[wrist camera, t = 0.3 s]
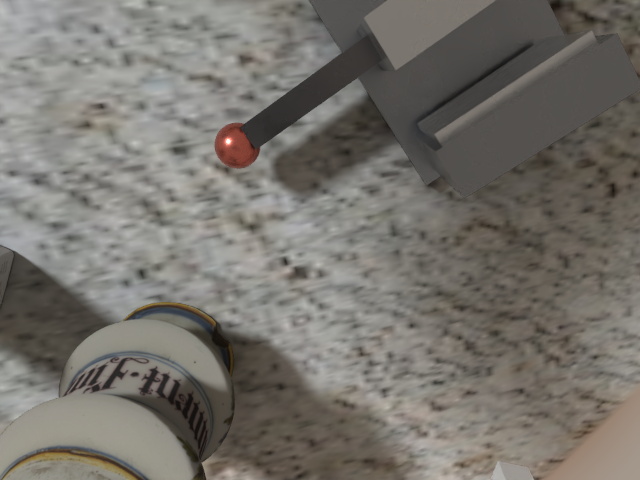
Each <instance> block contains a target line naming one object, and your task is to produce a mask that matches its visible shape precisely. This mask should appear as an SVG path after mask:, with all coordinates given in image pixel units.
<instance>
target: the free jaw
mask: <svg viewBox="0 0 640 480" xmlns="http://www.w3.org/2000/svg"><path fill="white" fill-rule="evenodd" d="M494 1H496V0H387V1H386V2H384V3H383V4H382V5H380V6H379V7H377V8H376V9H375V10H373V11H372V12H371V13H369V14H368V15H367V16H365V17H364V18H363V20H362V22H361V24H360V25H359V27H358V29H357V30H358V31H359V33H360V34H361V36H362V39H361V40H360V41H358V42H357V43H355V44H354V45H353V46H351V47H350V48H349V49H347V50H346V51H344V52H343V53H342V54H340V55H339V56H338V57H336V58H335V59H333V60H332V61H331V62H329V63H328V64H327V65H325V66H324V67H322V68H321V69H320V70H318V71H317V72H315V73H314V74H313V75H311V76H310V77H309V78H307V79H306V80H304V81H303V82H302V83H300V84H299V85H298V86H296V87H295V88H293V89H292V90H291V91H289V92H288V93H287V94H285V95H284V96H282V97H281V98H280V99H278V100H277V101H275V102H274V103H273V104H271V105H270V106H269V107H267V108H266V109H264V110H263V111H262V112H260V113H259V114H258V115H256V116H255V117H253V118H252V119H251V120H249V121H248V122H247V123H245V124H243V123H231V124H228V125H226V126H224V127H223V128H222V129H221V130H220V131H219V132H218V134H217V136H216V139H215V151H216V154H217V156H218V158H219V159H220V160H221V162H223V163H224V164H225V165H227V166H229V167H231V168H237V169H238V168H245V167H247V166H249V165H251V164H252V163H253V162H254V161H255V160H256V159H257V157H258V155H259V152H260V146H262V145H263V144H265V143H266V142H267V141H269V140H270V139H272V138H273V137H274V136H276V135H277V134H279V133H280V132H282V131H283V130H284V129H286V128H287V127H289V126H290V125H291V124H293V123H294V122H296V121H297V120H298V119H300V118H301V117H303V116H304V115H305V114H307V113H308V112H310V111H311V110H313V109H314V108H315V107H317V106H318V105H320V104H321V103H322V102H324V101H325V100H327V99H328V98H329V97H331V96H332V95H334V94H335V93H337V92H338V91H339V90H341V89H342V88H344V87H345V86H346V85H348V84H349V83H351V82H352V81H353V80H355V79H356V78H358V77H359V76H361V75H362V74H363V73H365V72H366V71H368V70H369V69H370V68H372V67H373V66H375V65H376V64H377V63H378V64H379V65H380V67H381V68H382V70H383V71H392V70H397V69H399V68H400V67H401V66H403V65H404V64H406V63H407V62H409V61H410V60H411V59H413V58H414V57H416V56H417V55H419V54H420V53H421V52H423V51H424V50H426V49H427V48H429V47H430V46H431V45H433V44H434V43H436V42H437V41H439V40H440V39H441V38H443V37H444V36H446V35H447V34H449V33H450V32H451V31H453V30H454V29H456V28H457V27H459V26H460V25H461V24H463V23H464V22H466V21H467V20H469V19H470V18H471V17H473V16H474V15H476V14H477V13H479V12H480V11H481V10H483V9H484V8H486V7H487V6H489V5H490V4H491V3H493V2H494Z"/></svg>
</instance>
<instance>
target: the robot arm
mask: <svg viewBox="0 0 640 480" xmlns="http://www.w3.org/2000/svg"><path fill="white" fill-rule="evenodd" d="M490 480H534V479H533V477H532V475H531V473H530V471H529V468H528V467H524V466H519V465H514V464H510V463H505V462H501V461H498V462H497V465H496V467H495V470H494V472H493V474H492V477H491V479H490Z"/></svg>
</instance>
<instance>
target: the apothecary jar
mask: <svg viewBox="0 0 640 480" xmlns="http://www.w3.org/2000/svg"><path fill="white" fill-rule="evenodd" d="M216 326H217V323H216V322H215V321H214V320H213V319H212V318H210V317H209V316H208V315H206V314H205V313H203V312H202V311H200V310H198V309H196V308H194V307H192V306H188V305H184V304H180V303H172V302H160V303H153V304H149V305H146V306H143V307H141V308H139V309H137V310H135V311H134V312H132V313H131V314H130V315H128V316H127V317H126V318H125V319H124V320H123V321H122V322H118V323H114V324H111V325H109V326H106V327H104V328H102V329H100V330H98V331H96V332H95V333H93V334H92V335H90V336H89V337H88V338H86V339H85V340H84V341H83V342H82V343H81V344H80V345H79V346H78V347H77V348H76V349H75V350H74V352H73V353H72V354H71V356H70V358H69V359H68V361H67V363H66V365H65V367H64V370H63V372H62V376H61V380H60V385H59V398H56V399H53V400H50V401H47V402H44V403H42V404H39V405H37V406H35V407H33V408H32V409H30V410H28V411H27V412H25V413H24V414H22V415H21V416H20V417H18V418H17V419H16V420H15V421H13V422H12V423H11V424H10V425H9V426H8V427H7V428H6V429H5V431H4V432H3V433H2V434H1V436H0V480H206V477H205V473H204V469H203V466H202V462H203V461H205V460H206V459H207V458H209V457H210V456H211V455H212V454H213V453H214V452H215V451H216V450H217V448H218V447H219V446H220V445H221V443H222V442H223V440H224V439H225V437H226V435H227V433H228V431H229V428H230V426H231V423H232V420H233V415H234V405H235V399H234V389H233V384H232V380H231V376H232V372H233V366H234V359H233V351H232V348H231V344H230V342H228V341H227V340H226V339H224V338H223V337H222V336H221V335H220V334H219V333H218V332H217V329H216Z"/></svg>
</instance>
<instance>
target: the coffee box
mask: <svg viewBox="0 0 640 480" xmlns="http://www.w3.org/2000/svg"><path fill="white" fill-rule="evenodd" d="M13 258H14V253H13V252H12V251H11V250H9V249H7V248H4V247H2V246H0V307H1V303H2V300H3V296H4V292H5V288H6V285H7V281H8V277H9V273H10V269H11V266H12V262H13Z"/></svg>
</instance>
